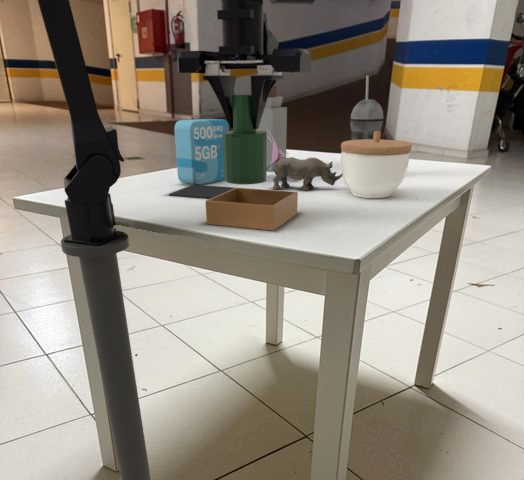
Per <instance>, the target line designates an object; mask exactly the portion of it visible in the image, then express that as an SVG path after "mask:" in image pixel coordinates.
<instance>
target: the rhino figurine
mask: <svg viewBox="0 0 524 480" xmlns="http://www.w3.org/2000/svg"><path fill="white" fill-rule="evenodd" d="M332 168H333V161H330V162H329V163H326V162H324V161H323V160H321V159H319V158H318V157H308V158H305V159H300V158H297V157H292V156H291V157H286V158H281V159H280V160H279V161H278V162H277V164H276V170H275V171H274V174H275V176H274V178H273V179H272V180H273V186H272V188H273V190H281V188H290V184H289V183H288V180H287V177H288V178H290V179H292V180H294V181H302V185H301V189H302V190H303V191H310V189H314V188H315V186H314V185H313V180H314V179H315V178H317V177H318V178H319V177H320V178H321V180H322V181H323V182H324V183H326V184H327V185H330V186H332V187H333V186H334V185H335V184H336V182H337V181H338V180H340V179H341V178H343V176H342V173H340V175H336V174H337V171H334V172H332V170H331V169H332ZM280 182H281V186H280Z"/></svg>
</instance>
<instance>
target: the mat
mask: <svg viewBox="0 0 524 480" xmlns="http://www.w3.org/2000/svg"><path fill="white" fill-rule="evenodd" d="M233 188H234V187H231V186H220V185H219V186H217V185H204V184H199V185H196V184H191V185H189V186H187V187H184V188H181V189H178V190H176V191H172V192H171V193H169V194H168V196H172V197H181V198H183V197H184V198H193V199H194V198H195V199H206V200H209V199H211V198H213V197H215V196H218V195H220V194H222V193H224V192H227V191H229V190H231V189H233Z"/></svg>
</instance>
